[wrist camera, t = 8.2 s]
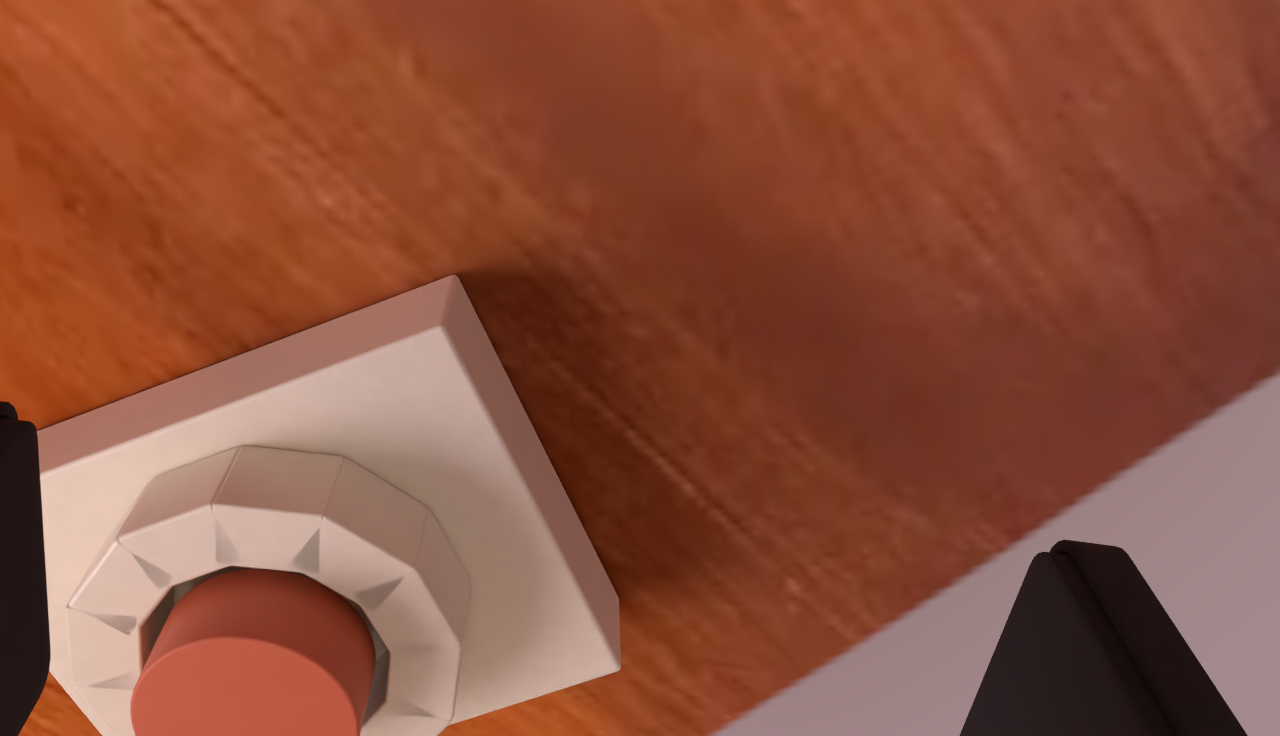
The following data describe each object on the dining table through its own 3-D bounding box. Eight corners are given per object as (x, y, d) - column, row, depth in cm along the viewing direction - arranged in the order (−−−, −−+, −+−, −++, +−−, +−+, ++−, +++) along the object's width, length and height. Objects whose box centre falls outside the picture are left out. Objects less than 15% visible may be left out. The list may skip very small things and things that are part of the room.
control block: (456, 271, 21) (429, 377, 18) (620, 598, 25) (624, 741, 21) (-22, 451, 23) (-135, 583, 19) (198, 737, 26) (137, 893, 23)
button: (313, 540, 20) (290, 608, 18) (411, 692, 21) (397, 768, 20) (122, 606, 20) (83, 679, 19) (232, 751, 22) (204, 828, 20)
